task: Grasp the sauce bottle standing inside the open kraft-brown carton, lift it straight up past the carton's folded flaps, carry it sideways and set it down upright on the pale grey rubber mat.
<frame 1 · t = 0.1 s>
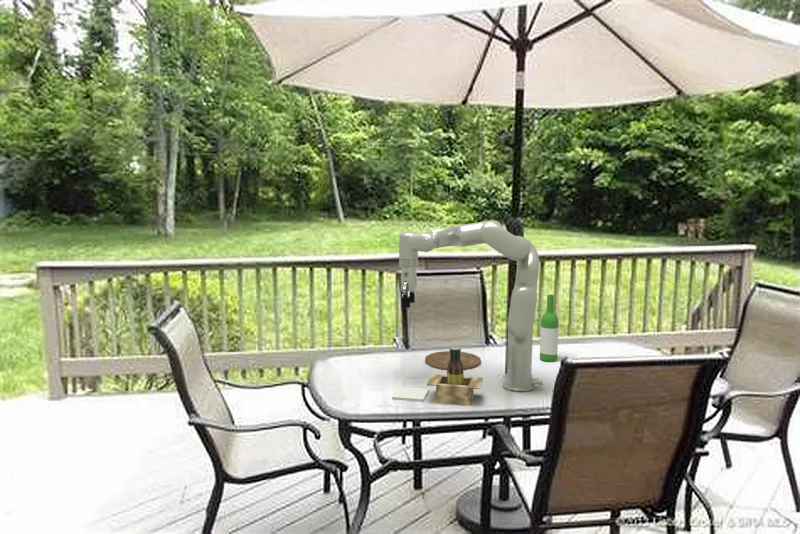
hand: (408, 304, 260), 31 cm above the table, tool pointing down, fingers open, 9 cm apart
mat: (410, 395, 246), on the table
trivet: (452, 363, 289), on the table
sauce bottle: (455, 399, 242), resting in carton
carton: (455, 398, 242), on the table
wine bottle: (548, 360, 293), on the table
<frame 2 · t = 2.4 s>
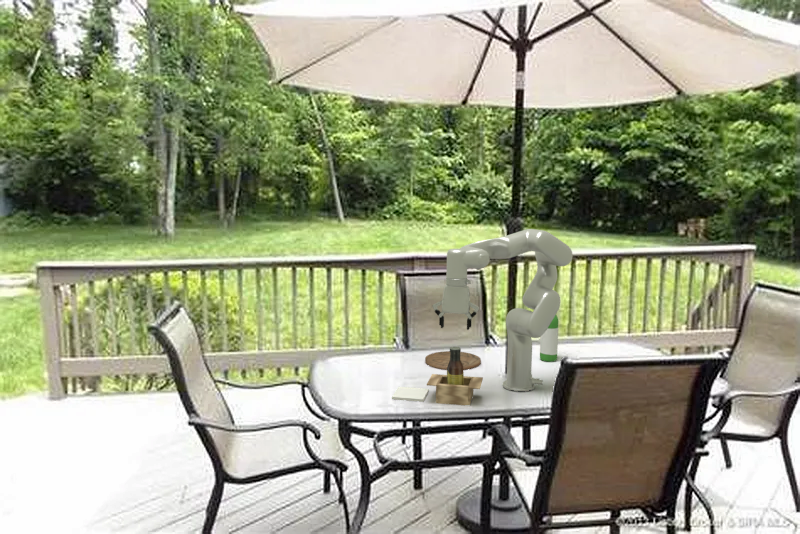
hand: (455, 328, 238), 27 cm above the table, tool pointing down, fingers open, 9 cm apart
nothing on the table moved.
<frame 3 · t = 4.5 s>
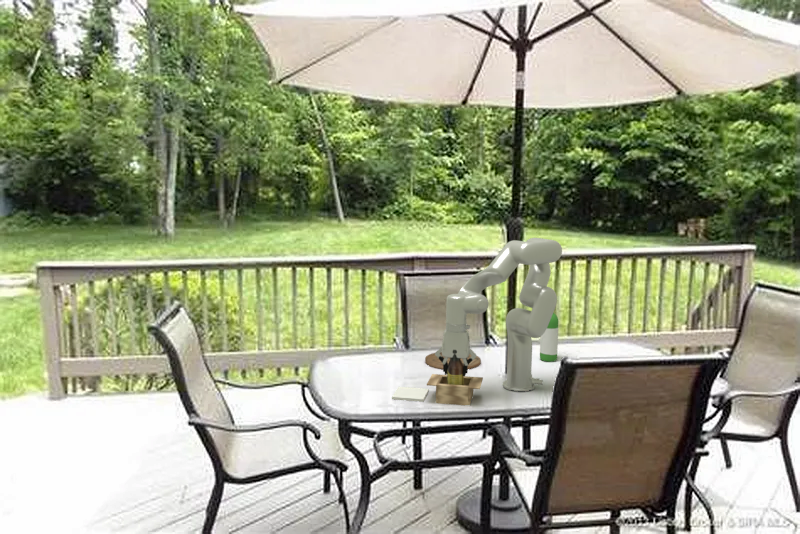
hand: (455, 374, 241), 10 cm above the table, tool pointing down, fingers closed on sauce bottle, 6 cm apart
sauce bottle: (454, 399, 242), resting in carton, touching gripper
everything else where it was.
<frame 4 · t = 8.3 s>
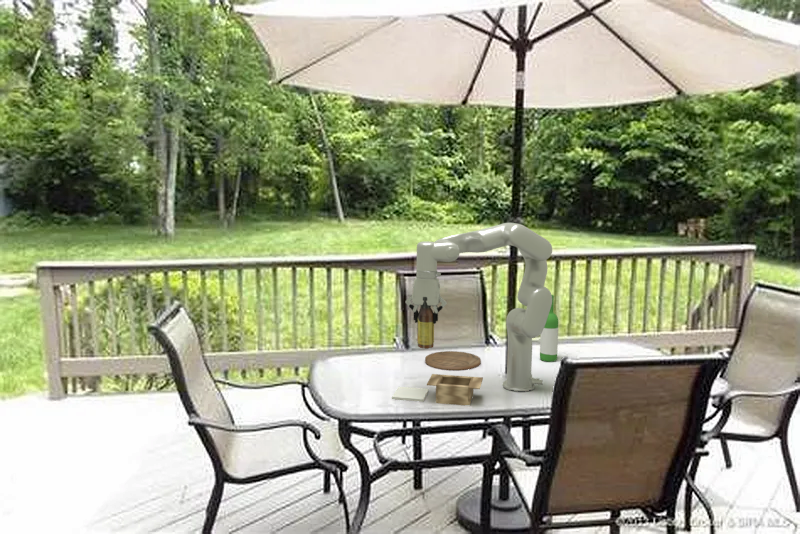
hand: (425, 322, 240), 29 cm above the table, tool pointing down, fingers closed on sauce bottle, 6 cm apart
sauce bottle: (425, 347, 241), point 19 cm above the table, touching gripper
everything else where it was.
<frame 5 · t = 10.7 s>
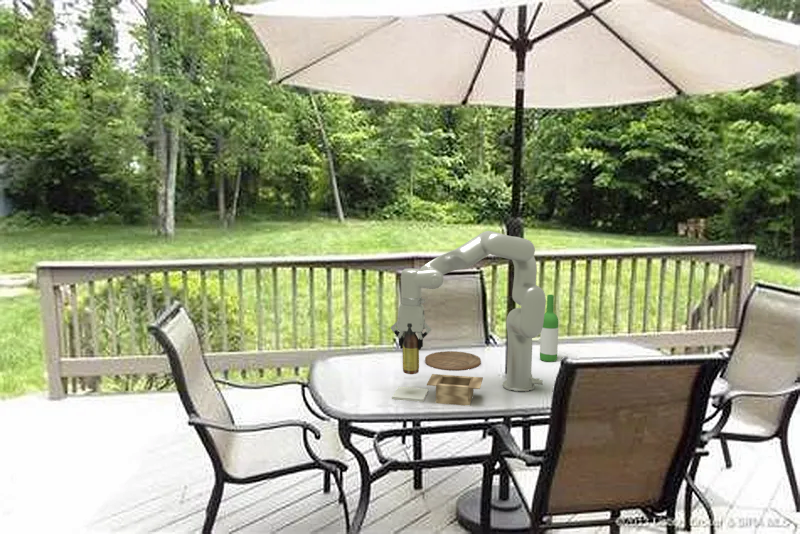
hand: (410, 347, 243), 19 cm above the table, tool pointing down, fingers closed on sauce bottle, 6 cm apart
sauce bottle: (410, 373, 244), point 9 cm above the table, touching gripper
everything else where it was.
when the fingers open (12 cm above the table, at t = 12.5 s): sauce bottle drops 1 cm, resting on mat.
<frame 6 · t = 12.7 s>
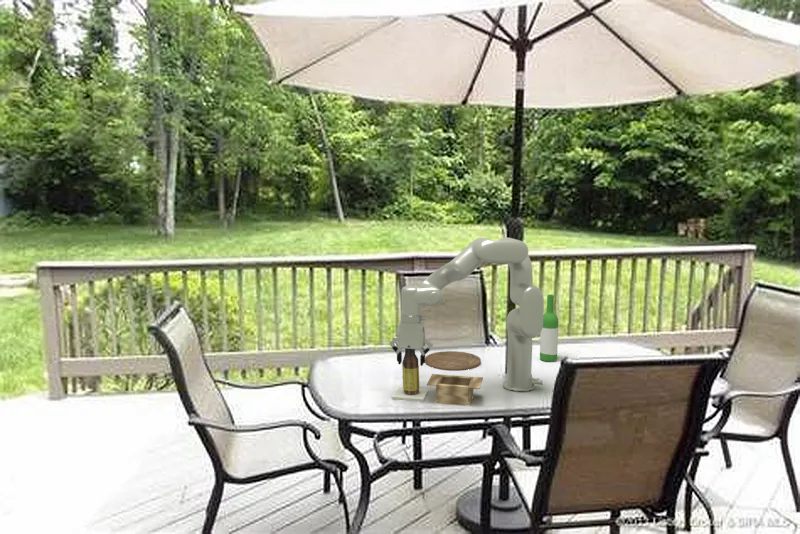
hand: (410, 363, 244), 12 cm above the table, tool pointing down, fingers open, 8 cm apart
sauce bottle: (411, 393, 245), point 1 cm above the table, touching mat
everything else where it was.
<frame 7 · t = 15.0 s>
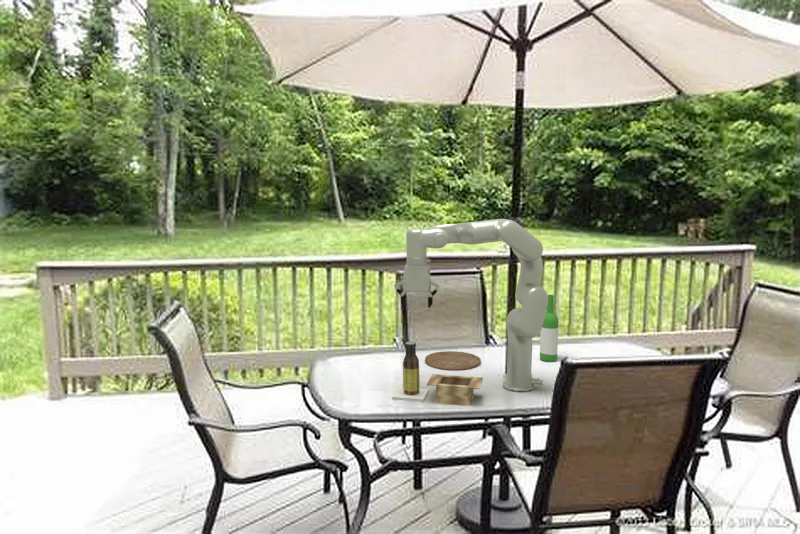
hand: (416, 306, 243), 34 cm above the table, tool pointing down, fingers open, 9 cm apart
nothing on the table moved.
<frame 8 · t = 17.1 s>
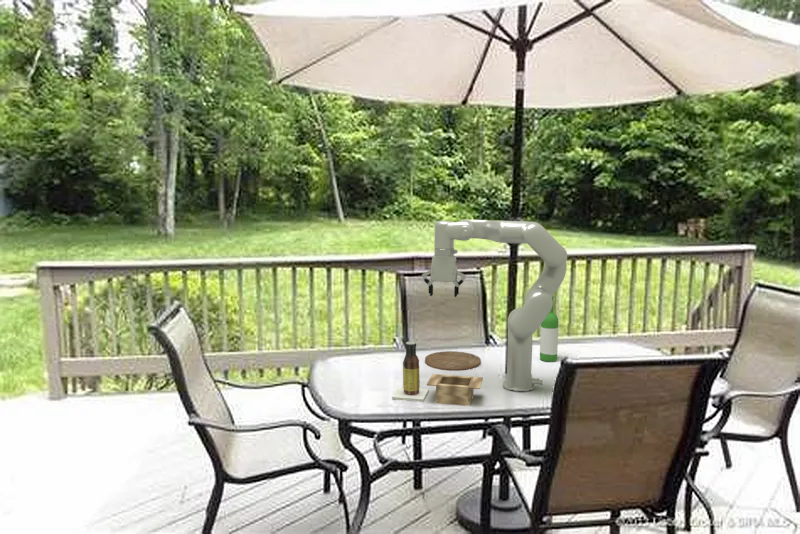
hand: (443, 295, 253), 36 cm above the table, tool pointing down, fingers open, 9 cm apart
nothing on the table moved.
at the end: sauce bottle inside the target area on the mat (0.2 cm from its centre), point 0.8 cm above the mat's base; sauce bottle tilted 0°; sauce bottle touching mat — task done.
